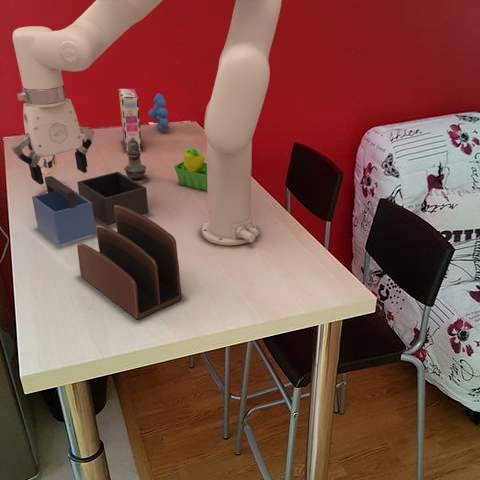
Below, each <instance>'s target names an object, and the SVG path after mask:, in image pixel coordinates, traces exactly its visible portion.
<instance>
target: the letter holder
mask: <svg viewBox="0 0 480 480" xmlns="http://www.w3.org/2000/svg"><path fill="white" fill-rule="evenodd" d="M114 212H115V219H116V223H115V225H116V230H114V229H113V228H110V227H108V226H105V225H104V224H103V225H102V224H100V223H99V224H97V225H95V229H96V238H97V245H98V250H96V249H94V248H93V247H91V246H89V245H87V244H86V243H82V242H78V243H77V244H76V245H77V246H76V248H77V257H78V267H79V272H80V273H79V274H80V277H81V278H83V279H84V280H85V281H86V282H88V284H90V285H92V286H93V287H94V288H95V289H97V290H98V291H100V292H101V293H102V294H104V296H106V297H107V298H109V300H111V301H112V302H114V303H115V304H117V306H119V307H120V308H121V309H122V310H124V311H126V312H127V313H128V314H130V316H132V317H134V318H135V319H137V320H140V319H143V318H145V317H147V316H149V315H152V314H153V313H156V312H158V311H160V310H162V309H164V308H166V307H169V306H170V305H172V304H175V303H177V302H179V301H181V300H182V298H183V297H182V296H183V294H182V285H181V275H180V264H179V257H178V246H177V241H176V238H175V237H174V235H172V234H171V233H170V232H168V231H167V230H166V229H164V228H163V227H161V225H159V224H158V223H156V222H154V221H153V220H151V219H149V218H148V217H146V216H145V215H140V214H138V213H136V212H135V211H132V210H130V209H128V208H126V207H123V206H120V205H115V206H114Z"/></svg>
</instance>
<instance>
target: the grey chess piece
mask: <svg viewBox="0 0 480 480" xmlns="http://www.w3.org/2000/svg"><path fill="white" fill-rule="evenodd" d="M127 145H128V152H127V154H126V156H127V158H128V164H127V165H126V166H124V167H123V170H124V171H125V173H126V176H127V177H128V178H130V179H132V180H134V181H139V180H141V178H143V176H145V174H146V170H147V166H145V164H142V162H141V156H142V153H141V152H140V151H139V144H138V142H137V141H134V140H133V137H132V140H131V141H129V142H128V144H127Z"/></svg>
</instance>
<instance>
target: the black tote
mask: <svg viewBox="0 0 480 480" xmlns="http://www.w3.org/2000/svg"><path fill="white" fill-rule="evenodd" d="M77 190H78V194H80V195H81V196H83V197H84V198H86V199H87V200H89V201H90V202H92V208H93V215H94V218H96V219H98V220H99V221H100V222H102V223H103V224H105V225H106V226H107V227H108V226H112V225H116V219H115V212H114V206H115V205H120V206H123V207H126V208H128V209H130V210H132V211H135V212H136V213H138V214H140V215H142V216H145V215H147V214H149V204H148V203H149V201H148V191H147V187H146V186H144V185H142V184H140V183H139V182H137V181H136V180H132V178H130V177H129V176H127V175H125V174H123V173H122V172H120V171H115V172H110V173H106V174H103V175H102V174H101V175H99V176H94V177H90V178H87V179H82V180H78V181H77Z"/></svg>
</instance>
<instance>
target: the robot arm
mask: <svg viewBox="0 0 480 480" xmlns="http://www.w3.org/2000/svg"><path fill="white" fill-rule="evenodd" d="M162 2H163V0H95V1H94V2H92V4H91V5H90V6H89V7H88V8H87V9H86V10H85V11H84V12H83V13H82V14H81V15H80V16H79V17H78V18H77V19H76V20H74V22H72V23H71V24H70V25H68V26H66V27H65V28H62V29H60V30H52V29H51V28H49V27H47V26H40V25H39V26H38V25H31V26H23V27H18V28H15V29H14V31H13V32H12V43H13V47H14V52H15V56H16V61H17V66H18V70H19V76H20V80H21V85H22V87H21V90H22V91H21V92H18V93H16V96H17V98H18V101H24V102H25V103H23V109H22V111H23V128H24V133H25V135H23V136H22V137H21V138H20V139H18V141H16V142H15V143H14V144H12V146H11V147H10V150H11V151H12V152H13V154H15V156H16V157H17V158H18V159H19V160H21V161H22V162H24V163H26V164H27V165H28V167H29V171H30V175H31V176H30V177H31V179H32V181H34V182H36V184H39V185H40V186H42V185H44V184H45V180H44V176H43V174H42V172H41V167H40V166H39V165H38V162H39V160H40V158H41V157H46V156H51V155H55V156H56V155H59V154H63V153H67V152H70V151H74V157H75V161H76V162H75V163H76V168H77V170H78V171H80V173H83V174H86V173H88V167H89V166H88V160H87V159H88V158H87V154H88V152H89V151H88V150H89V149H90V147H91V146H92V144H93V143H92V142H93V138H94V135H95V130H93V129H91V128H88V127H84V126H81V125H80V124H79V120H78V115H77V113H76V110H75V107H74V105H73V102H72V100H71V99H70V98H67V96H66V90H65V83H64V79H63V73H62V71H67V72H82V71H85V70H87V69H88V68H89V67H91V65H93V63H94V62H95V61H96V60H97V59H98V58H99V57H100V56H101V55H103V53H104V52H105V51H106V50H107V49H108V48H109V47H110V46H112V44H114V43H115V42H116V41H117V40H118V39H119V38H120V37H121V36H122V35H124V33H125V32H126V31H128V30H129V29H130V28H131V27H133V25H135V24H137V23H139V22H141V21H143V19H144V18H146V17H147V16H148V15H149V14H150V13H151V12H152V11H153V10H154V9H155V8H156V7H157V6H159V4H160V3H162ZM282 2H283V0H235V4H234V7H233V12H232V17H231V22H230V26H229V29H228V32H227V37H226V40H225V43H224V45H223V46H224V47H223V49H222V52H221V53H220V56H219V60H218V67H217V72H216V76H215V80H214V85H213V89H212V92H211V98H210V99H209V101H208V103H207V105H206V109H205V112H204V113H205V114H204V122H203V123H204V124H203V131H204V136H205V139H206V163H207V189H208V191H207V218H208V219H207V221H206V222H205V223H203V225H202V226H201V235H202V237H203V238H204V239H205V240H206V241H208V242H210V243H213V244H216V245H219V246H238V245H244V244H247V243H253V242H254V241H255V240H256V237H257V236H259V235H260V230H259V229H258V227H257V225H256V224H255V223H254V219H253V218H252V217H251V214H252V213H251V212H252V211H251V209H252V166H253V165H252V158H253V157H252V153H253V136H254V133H255V131H256V129H257V124H258V122H259V118H260V115H261V112H262V108H263V105H264V102H265V98H266V95H267V92H268V87H269V82H270V75H271V70H270V64H269V57H270V53H271V48H272V45H273V40H274V37H275V33H276V29H277V25H278V21H279V18H280V12H281V8H282ZM82 134H83V135H84V138H83V136H82ZM25 147H27V148H28V151H29V153H27V155H26V154H25V153H24V152H23V149H25Z"/></svg>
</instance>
